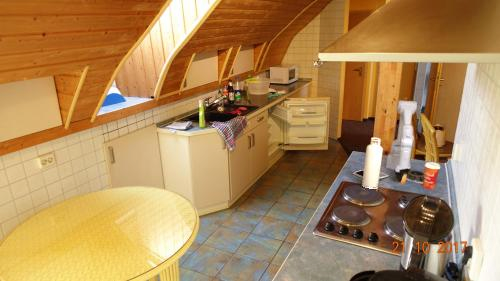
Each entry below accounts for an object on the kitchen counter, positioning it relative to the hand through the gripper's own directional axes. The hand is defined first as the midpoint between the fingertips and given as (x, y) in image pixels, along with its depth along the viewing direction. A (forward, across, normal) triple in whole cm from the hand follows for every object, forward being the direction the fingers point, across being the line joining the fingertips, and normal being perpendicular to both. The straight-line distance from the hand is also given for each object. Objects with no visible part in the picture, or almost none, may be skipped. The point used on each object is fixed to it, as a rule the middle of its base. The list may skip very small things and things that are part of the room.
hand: (401, 180), depth 198 cm
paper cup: (+2, +5, -13) cm, 14 cm away
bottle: (+2, -20, +8) cm, 22 cm away
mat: (+1, +13, -2) cm, 13 cm away
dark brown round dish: (+1, +13, -3) cm, 13 cm away
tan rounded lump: (+1, 0, 0) cm, 1 cm away
